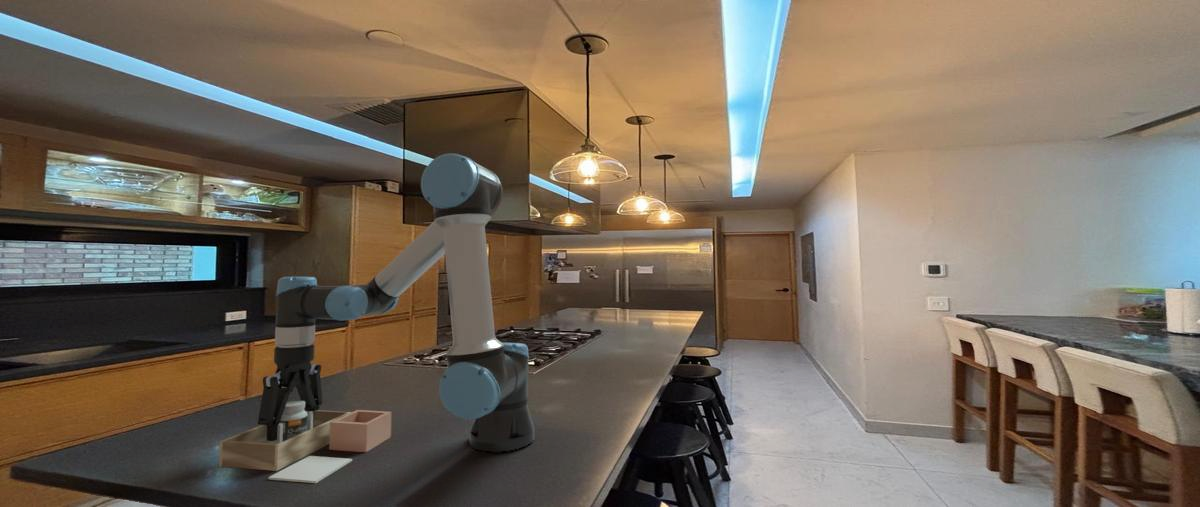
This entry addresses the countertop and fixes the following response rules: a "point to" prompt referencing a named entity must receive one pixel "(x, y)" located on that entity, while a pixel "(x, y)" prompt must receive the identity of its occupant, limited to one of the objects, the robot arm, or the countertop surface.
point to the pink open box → (360, 430)
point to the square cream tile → (310, 469)
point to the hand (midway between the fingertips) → (291, 446)
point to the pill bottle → (294, 419)
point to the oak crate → (276, 445)
